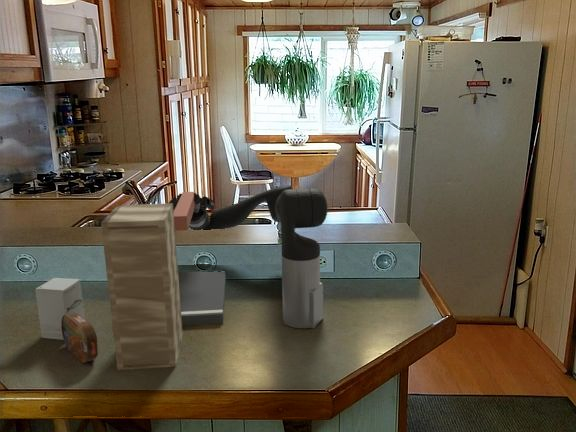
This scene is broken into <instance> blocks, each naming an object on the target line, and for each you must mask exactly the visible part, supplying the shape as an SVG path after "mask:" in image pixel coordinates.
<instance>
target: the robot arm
mask: <svg viewBox="0 0 576 432" xmlns="http://www.w3.org/2000/svg"><path fill="white" fill-rule="evenodd" d="M181 196H182V193H178V195H176V197H172V198H171V199H170V200H169V201H168V203H173V211H174V210H175V208H176V206H177V204H178V201H179V199H180V197H181ZM194 201H195V204H196V205H195V209H194V212H193V215H192V218H191V221H190V224H189V227H190V228H191V229H193V230H201V229H203V230H211V229H224V230H226V229H225V228H227V229H231V228H235V227H238V226H239V225H241V224H243V222H244V221H246V220H247V218H249V216H250V215H251V214H252V213H253V211H254V210H255V209H256V208H257V207H258V206H259V205H261V204H263V203H264V202H266V206H267V208H268V212H269V215H270V217H271V219H272V221H274V222H275V223H280V232H281V233H280V235H281V236H280V238H281V241H280V242H281V284H282V285H281V288H282V289H281V291H282V293H281V294H282V295H281V296H282V321H283V323H284V324H285V325H286V326H289V327H290V328H295V329H308V328H310V329H315V328H316V327H317V325H319V324H320V322H321V321H322V320H323V318H324V309H323V308H324V284H323V282H321V245H320V243H319V242H318V241H317V240H315V239H313V238H310V237H307V236H304V235H301V234H299V233H298V232H296V229H307V228H309V229H310V228H311V229H312V228H316V227H318V228H319V226H321V225H323V224H324V223H325V221H326V219H327V216H328V201H327V198H326V197H325V195H324V193H323V191H321V190H320V189H319V188H314V187H313V188H312V187H310V188H308V187H307V188H293V186H292V185H289V184H284V185H279V186H276V187H273V188H270V189H268V190H265V191H262V192H260V193H258V194H257V193H256V194H255V195H253V196H251V197H248V198H246V199H243V200H241V201H239V202H236V203H234V204H231V205H228V206H224V207H221V208H217V209H215V200H213V199H211V198H209V197H207V196H202V197H201V196H200V194H197V192H195V193H194ZM207 210H213V211H212V212H210V216H209V212H208V211H207ZM189 227H188V228H189Z"/></svg>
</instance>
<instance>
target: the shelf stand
mask: <svg viewBox="0 0 576 432" xmlns="http://www.w3.org/2000/svg"><path fill="white" fill-rule="evenodd" d="M100 225H101V235H102V243H103V251H104V252H103V253H104V262H105V270H106V279H107V280H106V281H107V286H108V288H107V289H108V296H109V297H108V298H109V305H110V307H109V308H110V313H111V323H112V324H111V325H112V333H113V342H114V349H115V357H116V358H115V359H116V367H117V371H126V370H142V369H159V368H173V367H175V368H177V364H178V359H179V355H180V350H181V344H182V340H183V335H184V334H183V325H182V318H181V305H180V291H179V278H178V273H179V267H178V256H177V255H178V254H177V241H176V239H177V238H176V231H175V225H174V210H173V203H169V202H168V203H150V204H149V203H148V204H146V203H145V204H144V203H143V204H119V205H118V204H117V205H116V206H115V207H114V208H113V209H112V210H111V212H110V213H108V215H107V216H106V217H105V218H104V219H103V220H102V221H101V222H100Z"/></svg>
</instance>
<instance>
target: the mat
mask: <svg viewBox="0 0 576 432" xmlns="http://www.w3.org/2000/svg"><path fill="white" fill-rule="evenodd" d="M226 274H227V273H226ZM226 274H225V272H201V271H185V272H178V278H179V291H180V305H181V318H182V326H195V325H199V326H200V325H215V324H218V325H219V324H224V314H225V297H226V283H227V282H226V281H227V280H226V279H227V275H226Z"/></svg>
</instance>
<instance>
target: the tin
mask: <svg viewBox="0 0 576 432" xmlns="http://www.w3.org/2000/svg"><path fill="white" fill-rule="evenodd" d="M61 328H62V335H63V339H64V340H63V343H64V345H65V347H66V348H67V350H68V351H69V352H70V353H71V354H72V355H73V356H74V357H76V359H77V360H78V361H79V362H81V363H83V364H85V363H87V362H90V361H93V360H96V358H97V357H98V354H99V351H98V335H97V333H96V330H95V329H94V326H93V325H92V324H91V323H90V322H89V321H88V320H86V318H85V319H84V318H82V317H81V316H80V315H79V314H77V313H72V314H68V315H64V316H63V317H62V321H61Z"/></svg>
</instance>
